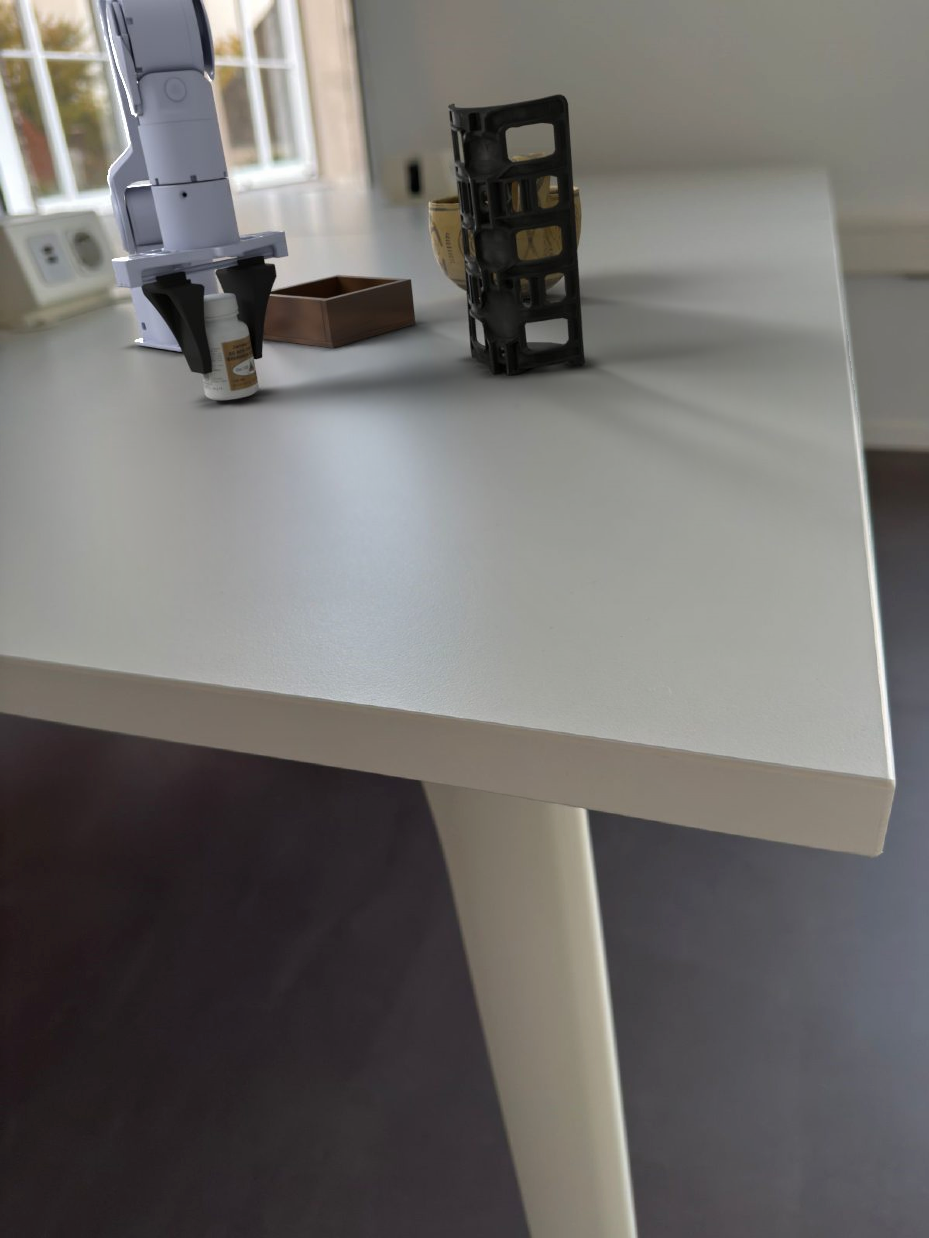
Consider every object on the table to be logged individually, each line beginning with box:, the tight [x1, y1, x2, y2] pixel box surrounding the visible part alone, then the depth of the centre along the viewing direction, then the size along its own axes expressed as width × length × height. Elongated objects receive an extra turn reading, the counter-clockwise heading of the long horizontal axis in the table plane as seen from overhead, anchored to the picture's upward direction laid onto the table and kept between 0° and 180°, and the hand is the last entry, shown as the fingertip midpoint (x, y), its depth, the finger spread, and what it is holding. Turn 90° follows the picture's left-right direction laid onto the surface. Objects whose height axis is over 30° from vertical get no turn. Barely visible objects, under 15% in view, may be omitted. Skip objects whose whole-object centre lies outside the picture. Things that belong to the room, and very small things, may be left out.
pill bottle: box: [200, 292, 260, 401], centre depth 76 cm, size 4×4×8 cm
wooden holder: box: [263, 274, 417, 349], centre depth 98 cm, size 12×12×4 cm
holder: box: [447, 93, 586, 376], centre depth 74 cm, size 11×8×20 cm
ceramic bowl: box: [428, 151, 582, 300], centre depth 105 cm, size 22×17×15 cm
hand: (226, 364), depth 77 cm, fingers closed on pill bottle, 4 cm apart
